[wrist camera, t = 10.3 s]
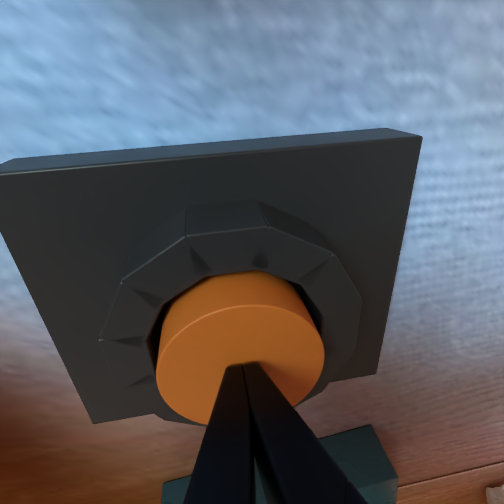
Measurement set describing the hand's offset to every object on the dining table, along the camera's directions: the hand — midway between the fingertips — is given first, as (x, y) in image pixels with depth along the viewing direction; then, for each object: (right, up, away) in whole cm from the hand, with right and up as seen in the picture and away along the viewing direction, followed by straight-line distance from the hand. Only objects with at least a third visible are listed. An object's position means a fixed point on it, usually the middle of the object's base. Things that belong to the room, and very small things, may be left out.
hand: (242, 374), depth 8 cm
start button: (0, +1, +2) cm, 2 cm away
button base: (-1, +2, +4) cm, 5 cm away
